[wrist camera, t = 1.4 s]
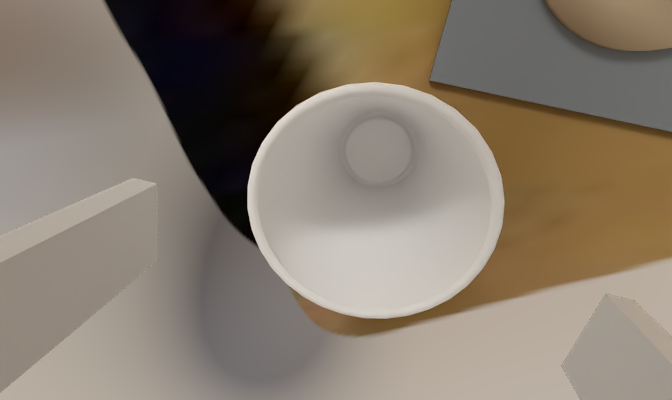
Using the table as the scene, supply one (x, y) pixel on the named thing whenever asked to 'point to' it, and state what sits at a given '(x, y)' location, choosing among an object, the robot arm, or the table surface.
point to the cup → (375, 200)
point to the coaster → (617, 22)
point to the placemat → (550, 63)
